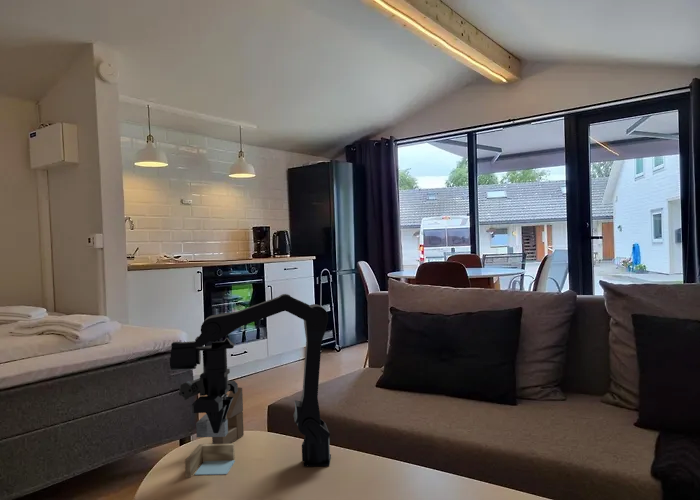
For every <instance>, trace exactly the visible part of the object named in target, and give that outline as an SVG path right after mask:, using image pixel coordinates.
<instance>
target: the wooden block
mask: <svg viewBox="0 0 700 500" xmlns="http://www.w3.org/2000/svg"><path fill="white" fill-rule="evenodd" d="M228 397H233V400H232V402H231V405H230V407H229V410H228V413H227V415H226V418H225V419H228V434H227V435H226V436H225V437H211V438H212V439H211V440H212V441H211V442H212V443H211V444H233V443H234V442H235V441H237V440H238V439H241V438H242V437H243V436H244V435H245V434H244V397H243V387H241V386H240V387H239V386H238V391H237V392H236V394H233V392H232V391H229V393H228Z"/></svg>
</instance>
